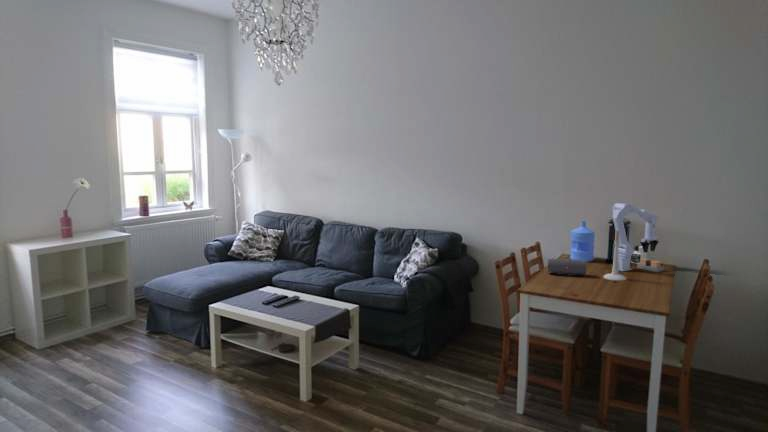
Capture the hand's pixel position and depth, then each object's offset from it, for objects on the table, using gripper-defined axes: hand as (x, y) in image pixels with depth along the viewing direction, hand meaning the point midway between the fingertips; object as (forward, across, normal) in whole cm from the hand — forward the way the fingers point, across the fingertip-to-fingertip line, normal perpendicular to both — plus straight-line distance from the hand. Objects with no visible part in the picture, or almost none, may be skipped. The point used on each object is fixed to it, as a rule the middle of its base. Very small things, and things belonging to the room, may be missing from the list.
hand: (648, 251), depth 330 cm
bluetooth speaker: (+11, -63, +14) cm, 65 cm away
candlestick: (+11, -45, -8) cm, 47 cm away
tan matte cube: (+9, -6, -9) cm, 14 cm away
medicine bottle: (+11, +6, +11) cm, 16 cm away
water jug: (+11, -19, +38) cm, 44 cm away
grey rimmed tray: (+10, -6, -5) cm, 13 cm away
